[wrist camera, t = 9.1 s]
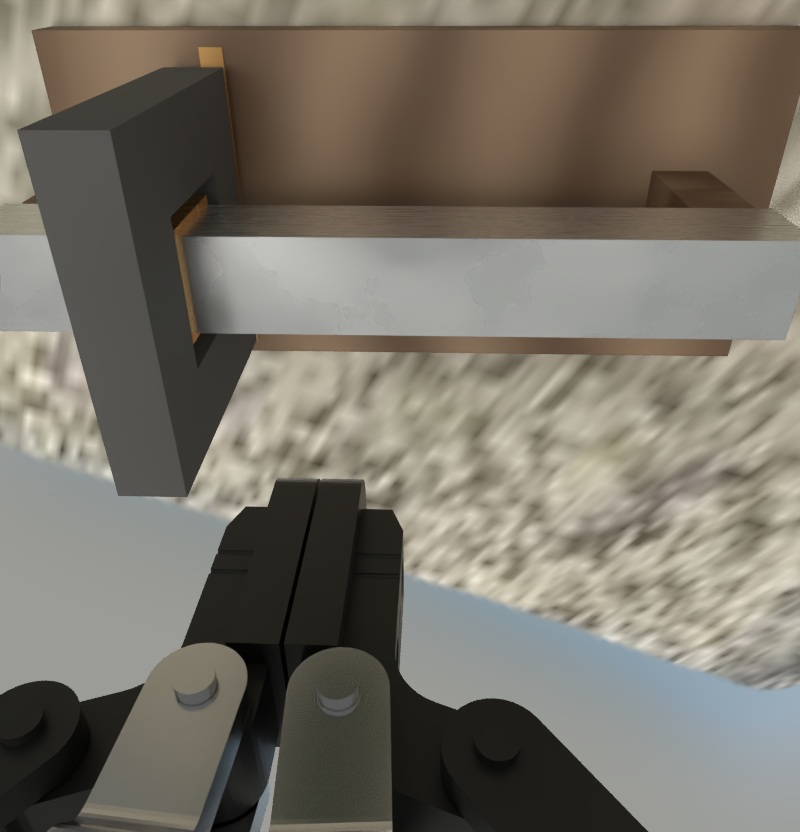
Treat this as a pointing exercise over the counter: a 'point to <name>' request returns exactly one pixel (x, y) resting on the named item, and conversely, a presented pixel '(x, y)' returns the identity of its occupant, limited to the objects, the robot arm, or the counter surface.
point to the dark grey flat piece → (140, 265)
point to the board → (474, 125)
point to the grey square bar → (451, 271)
